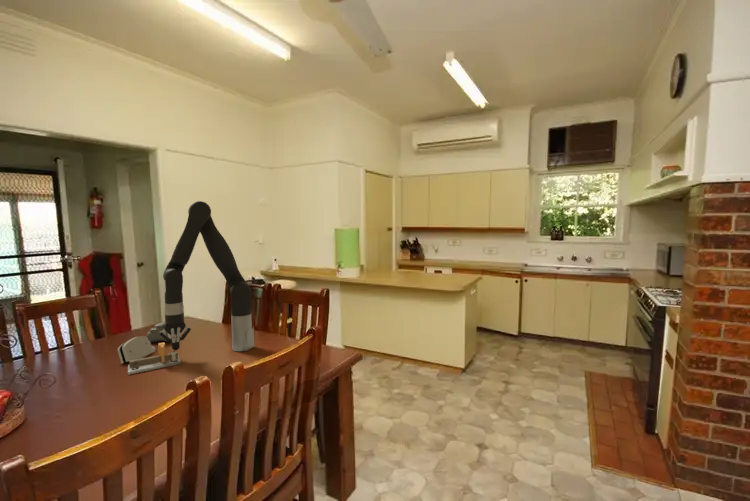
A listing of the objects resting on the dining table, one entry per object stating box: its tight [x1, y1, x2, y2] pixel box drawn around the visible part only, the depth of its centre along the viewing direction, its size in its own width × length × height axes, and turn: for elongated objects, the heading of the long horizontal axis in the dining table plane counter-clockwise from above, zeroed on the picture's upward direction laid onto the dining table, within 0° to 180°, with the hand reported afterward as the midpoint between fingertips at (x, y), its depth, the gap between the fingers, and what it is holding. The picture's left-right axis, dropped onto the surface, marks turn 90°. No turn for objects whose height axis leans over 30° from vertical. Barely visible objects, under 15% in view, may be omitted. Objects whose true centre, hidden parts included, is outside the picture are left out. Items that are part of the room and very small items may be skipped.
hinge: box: [117, 335, 157, 364], centre depth 161 cm, size 17×5×10 cm, turn 179°
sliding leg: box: [157, 341, 167, 363], centre depth 152 cm, size 2×7×7 cm, turn 35°
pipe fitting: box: [146, 321, 171, 343], centre depth 182 cm, size 12×8×10 cm
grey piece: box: [127, 350, 182, 376], centre depth 150 cm, size 19×9×5 cm, turn 125°
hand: (176, 349), depth 157 cm, fingers closed
